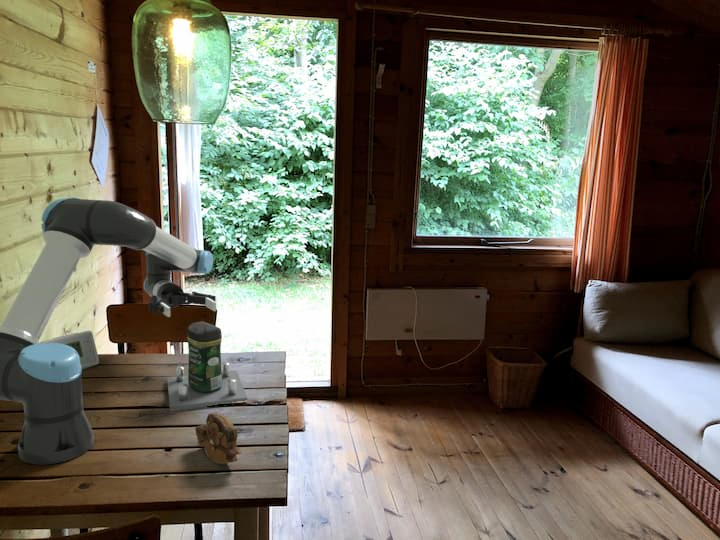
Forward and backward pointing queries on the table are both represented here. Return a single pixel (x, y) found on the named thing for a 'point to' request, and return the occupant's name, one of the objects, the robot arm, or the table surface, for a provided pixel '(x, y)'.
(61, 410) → the robot arm
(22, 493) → the table surface
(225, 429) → the wooden carving
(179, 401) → the base plate
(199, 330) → the coffee jar
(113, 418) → the table surface
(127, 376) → the table surface
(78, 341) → the digital clock
